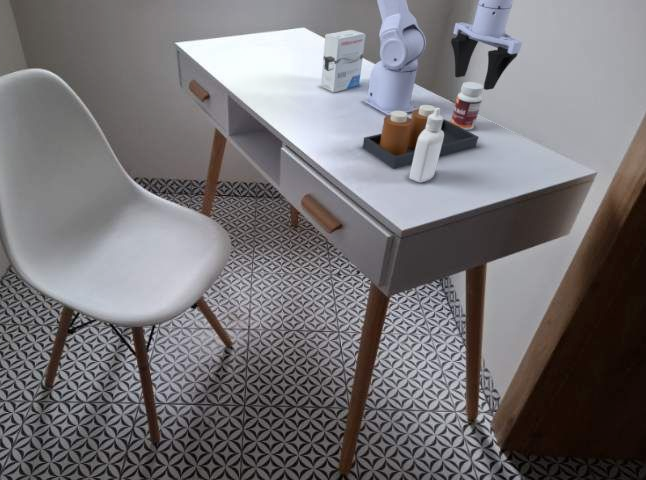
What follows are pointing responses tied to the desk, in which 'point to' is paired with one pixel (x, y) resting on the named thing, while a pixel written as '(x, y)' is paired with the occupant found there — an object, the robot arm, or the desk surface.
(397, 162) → the tray
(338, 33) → the ink box
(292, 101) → the desk surface
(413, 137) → the amber bottle middle
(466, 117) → the pill bottle
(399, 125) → the amber bottle far
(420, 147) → the eye dropper bottle
